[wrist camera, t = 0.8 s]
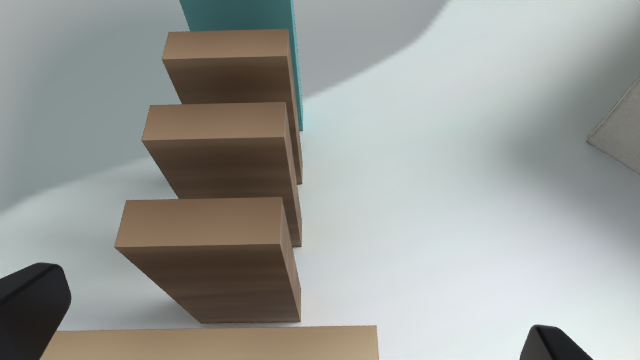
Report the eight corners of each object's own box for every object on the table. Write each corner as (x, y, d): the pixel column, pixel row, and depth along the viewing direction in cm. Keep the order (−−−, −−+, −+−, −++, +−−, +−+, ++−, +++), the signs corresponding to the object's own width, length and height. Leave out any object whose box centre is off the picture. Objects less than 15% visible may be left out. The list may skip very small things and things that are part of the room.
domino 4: (300, 321, 21) (279, 243, 13) (201, 323, 21) (114, 246, 13) (300, 290, 22) (281, 197, 14) (205, 291, 22) (126, 200, 14)
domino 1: (302, 130, 28) (289, -8, 19) (225, 132, 28) (177, -5, 19) (303, 111, 28) (290, -30, 20) (228, 113, 28) (183, -27, 20)
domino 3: (301, 246, 23) (284, 136, 15) (210, 248, 24) (141, 140, 15) (301, 220, 24) (285, 101, 16) (214, 222, 24) (150, 105, 16)
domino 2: (302, 184, 25) (287, 55, 17) (218, 185, 26) (161, 59, 17) (302, 161, 26) (288, 28, 18) (221, 163, 26) (168, 32, 18)
